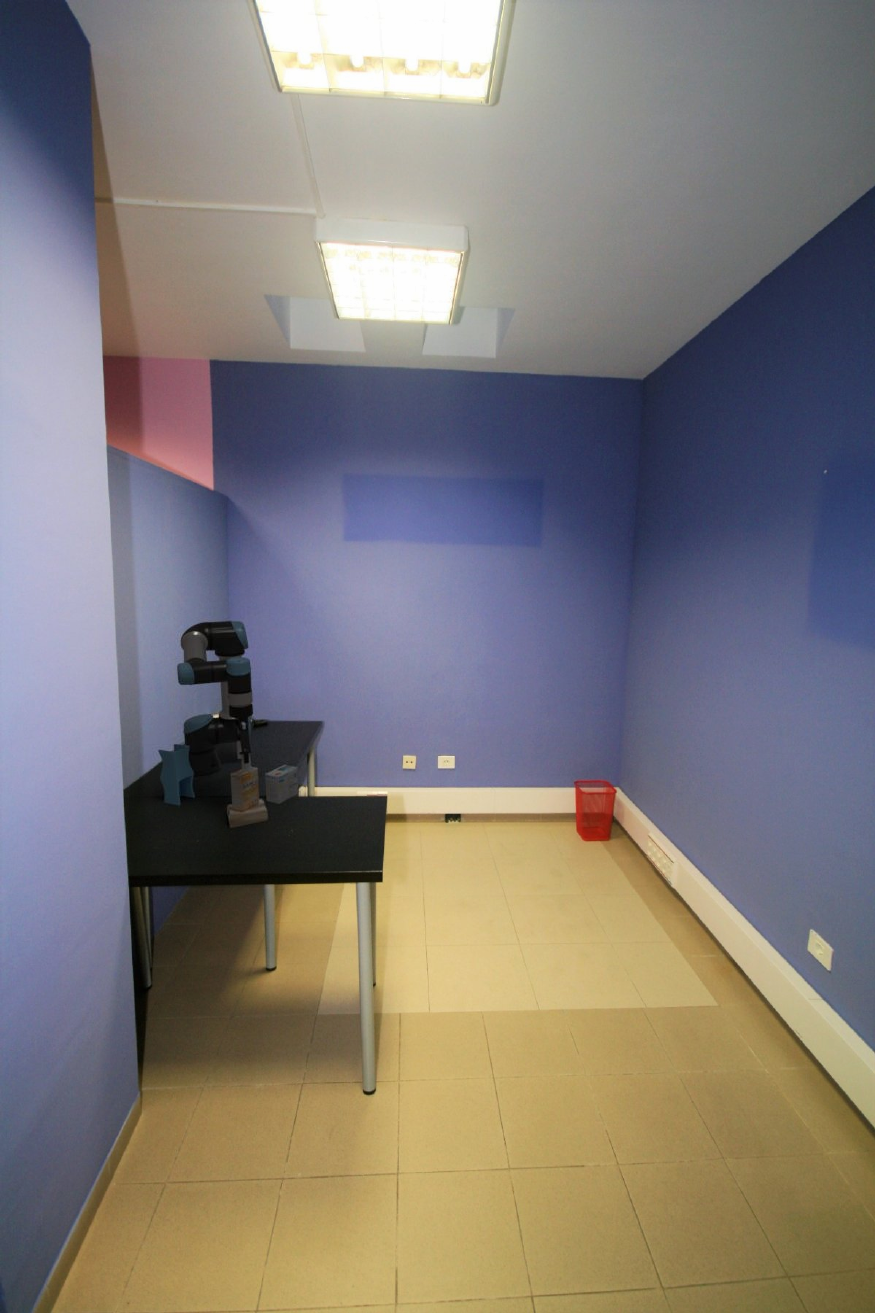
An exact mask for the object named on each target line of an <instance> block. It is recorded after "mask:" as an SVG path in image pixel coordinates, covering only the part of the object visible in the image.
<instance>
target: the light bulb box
mask: <svg viewBox="0 0 875 1313" xmlns="http://www.w3.org/2000/svg"><path fill="white" fill-rule="evenodd" d="M264 780H265V794H266V796H265V797H266V801H267V802H271V803H274V804H277V805H280V804H282V803H283V802H285V801H288V800H289V799H291V798H292V797H294V796H296V795H298V794H299V782H298V780H299V778H298V767H297V766H292V765H288V764H283V765H281V766H279V767H277V768H275V769H273V770H270V771H268V772H265V773H264Z"/></svg>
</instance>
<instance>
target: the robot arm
mask: <svg viewBox="0 0 875 1313" xmlns="http://www.w3.org/2000/svg"><path fill="white" fill-rule="evenodd" d="M180 647H181V649H182V650H183V662H180V663H178V664H177V665H176V666H177V667H176V669H177V671H176V672H177V673H176V674H177V682H178V684H179V685H180V686H192V685H193V686H194V685H203V684H214V683H216V684H218V683H220V696H221V697H220V698H221V710H220V711H219V712H218V716H217V717H214V715H213V714H211V713H208V714H207V713H203V714H198V715H196V716H192V717H189V718H188V719H186V720H185V721H184V723H183V731H182V732H183V736H184V737H183V738H184V745H187V746H190V748H189V756H188V757H189V763H190V766H191V768H192V770H193V772H194V776H193V777H198V776H200V777H201V776H207V775H211V774H214V773H216V772H218V771H219V770H220V769H221V767H222V765H221V760H220V758H219V755H218V753H217V751H216V746H217V745H224V744H231V743H232V744H233V743H236V752H237V755H236V756H237V760H241V769H242V773H245V772H251V767H252V765H251V763H252V762H251V761H252V760H251V753H252V750H251V744H250V737H251V733H252V732H251V731H252V715H254V707H253V706H254V705H253V702H254V701H253V700H254V699H253V690H252V666H251V660H250V659H249V657H243V656H244V655H245V653H246V652H245V650H247V649H249V641H248V637H247V632H246V627H245V624H244V623H243V622H242V621H240V620H239V621H238V620H225V621H223V620H222V621H203V622H199V623H196V624H194V625H191V626H190V627H188V628H187V629H186V630H185V631H184V632H183V634H182V635H181V637H180ZM207 651H208V652H209V651H211V652H212V651H214V655H215V656H216V657H217V658H218V660H208V658H207V657H208V656H207Z"/></svg>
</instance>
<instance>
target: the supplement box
mask: <svg viewBox="0 0 875 1313" xmlns="http://www.w3.org/2000/svg"><path fill="white" fill-rule="evenodd" d="M230 788H231V790H230V791H231V802H232V803H231V804H232V809H233V810H235V811H239V812H244V811H246V810H247V809H249V808H251V807H252V806H254V805H256V804H258V803H259V799H260V796H259V795H260V793H259V792H260V791H259V790H260V789H259V768H258V767H253V766H251V772H245V773H242V768H241V769H239V770H237V771H235V772H231V773H230Z"/></svg>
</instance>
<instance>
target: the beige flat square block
mask: <svg viewBox="0 0 875 1313" xmlns="http://www.w3.org/2000/svg"><path fill="white" fill-rule="evenodd" d="M226 813H227V814H226V815H227V819H228V823H229V828H237V827H241V826H246V825H252V824H257V823H261V822H267V821H268V820H269V819H268V818H269V816H268V809H267V806H266V804H265V802H264V799H263V798H259V803H258V804H256V805H254V806H252V807H251V808H249V809H247V810H246V811H244V812H239V811H235V810H233V809H232V803H231V804H228V805H227V806H226Z"/></svg>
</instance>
